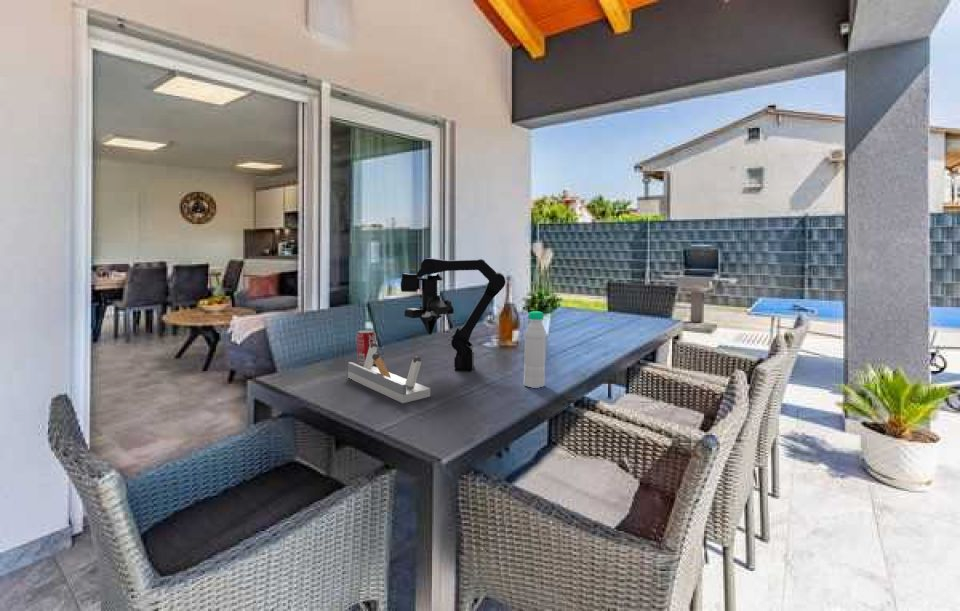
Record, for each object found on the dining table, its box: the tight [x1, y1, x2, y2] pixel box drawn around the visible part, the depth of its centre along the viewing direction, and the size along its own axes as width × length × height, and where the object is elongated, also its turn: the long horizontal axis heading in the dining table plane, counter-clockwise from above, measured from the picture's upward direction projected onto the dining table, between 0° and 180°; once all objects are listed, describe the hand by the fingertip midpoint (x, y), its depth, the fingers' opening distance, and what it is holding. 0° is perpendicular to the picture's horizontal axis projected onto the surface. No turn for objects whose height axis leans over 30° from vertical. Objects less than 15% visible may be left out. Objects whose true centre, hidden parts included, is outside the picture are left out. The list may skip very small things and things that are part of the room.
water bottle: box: [523, 310, 547, 387], centre depth 161 cm, size 7×7×25 cm
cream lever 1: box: [362, 342, 378, 370], centre depth 170 cm, size 2×3×10 cm
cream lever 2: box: [405, 356, 422, 390], centre depth 151 cm, size 2×3×10 cm
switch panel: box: [347, 361, 431, 404], centre depth 160 cm, size 10×34×6 cm, turn 42°
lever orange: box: [372, 352, 391, 378], centre depth 158 cm, size 2×3×10 cm
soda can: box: [356, 329, 377, 367], centre depth 187 cm, size 7×7×13 cm
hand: (429, 334), depth 181 cm, fingers closed
